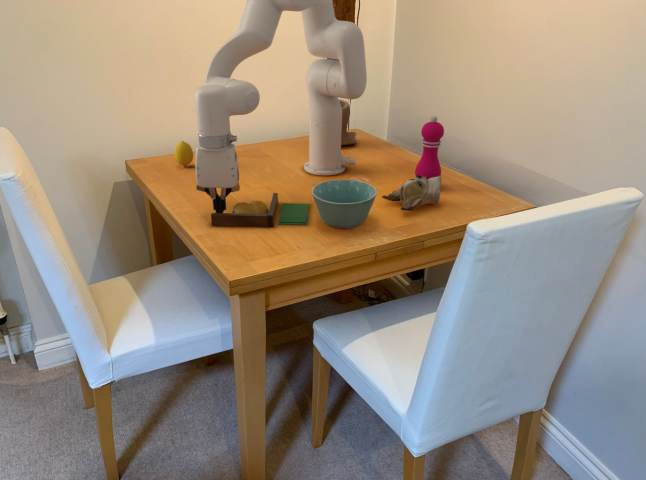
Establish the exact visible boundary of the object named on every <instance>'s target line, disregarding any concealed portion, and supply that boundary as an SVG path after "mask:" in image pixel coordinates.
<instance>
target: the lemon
mask: <svg viewBox="0 0 646 480" xmlns="http://www.w3.org/2000/svg"><path fill="white" fill-rule="evenodd" d="M173 155H174V158H175V161H176V162H177V164H179V165H181V166H183V167H184V168H186V167H187V166H188V165H190V164H191V163H192V162H193V160H194V152H193V148H192V146H191V145H190V144H189V143H188V142H186V141H184V140H181V141H180V142H178V143H177V144H176V145H175V147H174V154H173Z"/></svg>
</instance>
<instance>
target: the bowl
mask: <svg viewBox="0 0 646 480" xmlns="http://www.w3.org/2000/svg"><path fill="white" fill-rule="evenodd" d="M311 194H312V197H313V201H314V204H315V206H316V209H317V212H318V215H319V217H320V219H321V221H322V222H324V224H326V225H328V226H329V227H332V228H335V229H341V230H347V229H348V230H349V229H354V228H356V227H359V226H360V225H361V224H363V223H364V222H365V221H366V220H367V218H368V216H369V213H370V211H371V209H372V207H373V204H374V202H375V199H376V197H377V194H378V191H377V189H376V187H375V186H373V185H372V184H370V183H368V182H365V181H361V180H356V179H331V180H330V179H329V180H325V181H322V182H319V183H317V184H315V185H314V186H313V187H312V189H311Z"/></svg>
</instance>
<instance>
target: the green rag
mask: <svg viewBox="0 0 646 480" xmlns="http://www.w3.org/2000/svg"><path fill="white" fill-rule="evenodd" d="M309 206H310V204H309V203H289V202H288V203H287V202H286V203H285V202H283V203H281V209H280V213H279V218H278V224H277V225H279V226H282V225H283V226H307V225H308V219H309V218H308V217H309Z"/></svg>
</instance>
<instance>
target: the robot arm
mask: <svg viewBox="0 0 646 480" xmlns="http://www.w3.org/2000/svg"><path fill="white" fill-rule="evenodd" d="M283 12H298V13H299V12H300V14H301V18H302V25H303V31H304V39H305V44H306V49H307V50H308V52H309V53H310V55H312V56H314V57H318V58H319V59H316V60H313V61H312V62H311V63H310V64H309V65H308V67H307V69H306V73H305V81H306V87H307V93H308V102H309V103H308V104H309V117H308V118H309V120H308V121H309V128H308V129H309V132H308V138H309V139H308V161H306V162H305V163H304V164H303V170H304V171H305V172H306V173H308V174H311V175H315V176H324V177H327V176H336V175H339V174H342V173H344V172H345V171H346V165H347V166H356V160H357V159H356V158H352V156H344V155H342V154H343V153H342V145H341V130H342V108H341V104H340V101H339V99H344V100H345V99H346V100H357V99H359V98H361V97H362V96H363V95H364V93H365V91H366V87H367V81H368V79H367V78H368V77H367V73H368V72H367V62H366V49H365V40H364V39H365V38H364V35H363V32H362V30H361V28H360V26H359V25H358V24H357V23H355V22H352V21H348V20H339V19H338V18H336V15H335V14H336V13H335V9H334V1H333V0H246V3H245V6H244V8H243V12H242V15H241V17H240V21H239V24H238V27H237V29H236V31H235V32H234V33H233V34H232V35H231V36H230V37H229V38H228V39H227V40H226V41H225V42H224V43H223V44H222V45H221V46H220V47H219V49H218V50H217V51H216V52H215V53H214V54H213V57H212V58H211V61H210V63H209V65H208V68H207V71H206V74H205V77H204V81H203V84H202V85H199V86H197V88H195V89H194V104H195V105H194V106H195V114H196V115H195V116H196V125H197V126H196V127H197V137H198V138H197V139H198V143H197V145H196V149H195V183H196V187H195V189H196V191H199V192H204V193H206V194H207V195H208V196H209V197H210V199H211V200H212V209H213V211H215V213H224V211H227V199H226V198H227V197H228V196H230V194H231V193H235V192H240V190H241V184H240V182H239V181H240V169H239V160H238V154H237V149H236V146H235V144H234V142H237V141H238V136H237V135H233V134H232V132H231V122H230V117H232V116H243V115H244V116H245V115H248V114H249V115H250V114H251V113H252V112H254V111H256V109H257V107H258V106H259V104H260V100H261V96H260V95H261V94H260V91H259V90H258V88H257V86H256V85H254V84H253V83H251V82H249V81H245V80H240V79H235V78H232V75H233V73H234V71H235V69H236V68H237V67H238V66H239V65H240V64H241V63H242V62H244V61H245V60H247V59H248V58H251V57H253V56H254V55H257V54H259V53H261V52H264V51H266V50H267V49H269V48H270V47H271V46H272V44H273V40H274V38H275V34H276V31H277V30H278V29H277V28H278V26H279V23H280V20H281V17H282V15H283ZM218 189H220V194H219V193H218Z"/></svg>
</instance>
